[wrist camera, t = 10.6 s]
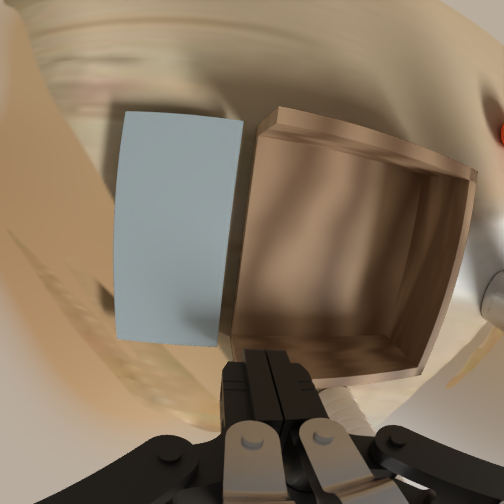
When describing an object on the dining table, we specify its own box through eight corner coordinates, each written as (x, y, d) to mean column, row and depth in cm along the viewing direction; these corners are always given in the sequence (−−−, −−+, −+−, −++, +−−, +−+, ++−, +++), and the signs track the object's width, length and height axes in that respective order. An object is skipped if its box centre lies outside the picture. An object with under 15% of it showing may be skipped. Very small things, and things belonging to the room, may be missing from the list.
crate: (422, 166, 30) (477, 171, 21) (383, 336, 35) (420, 375, 26) (257, 125, 26) (278, 106, 18) (230, 336, 32) (238, 390, 23)
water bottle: (315, 386, 35) (395, 547, 12) (356, 383, 37) (447, 520, 13) (298, 428, 38) (353, 571, 14) (337, 424, 39) (401, 551, 15)
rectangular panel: (243, 121, 24) (125, 111, 21) (216, 346, 29) (117, 338, 27) (240, 124, 26) (130, 115, 23) (215, 336, 31) (121, 328, 29)
